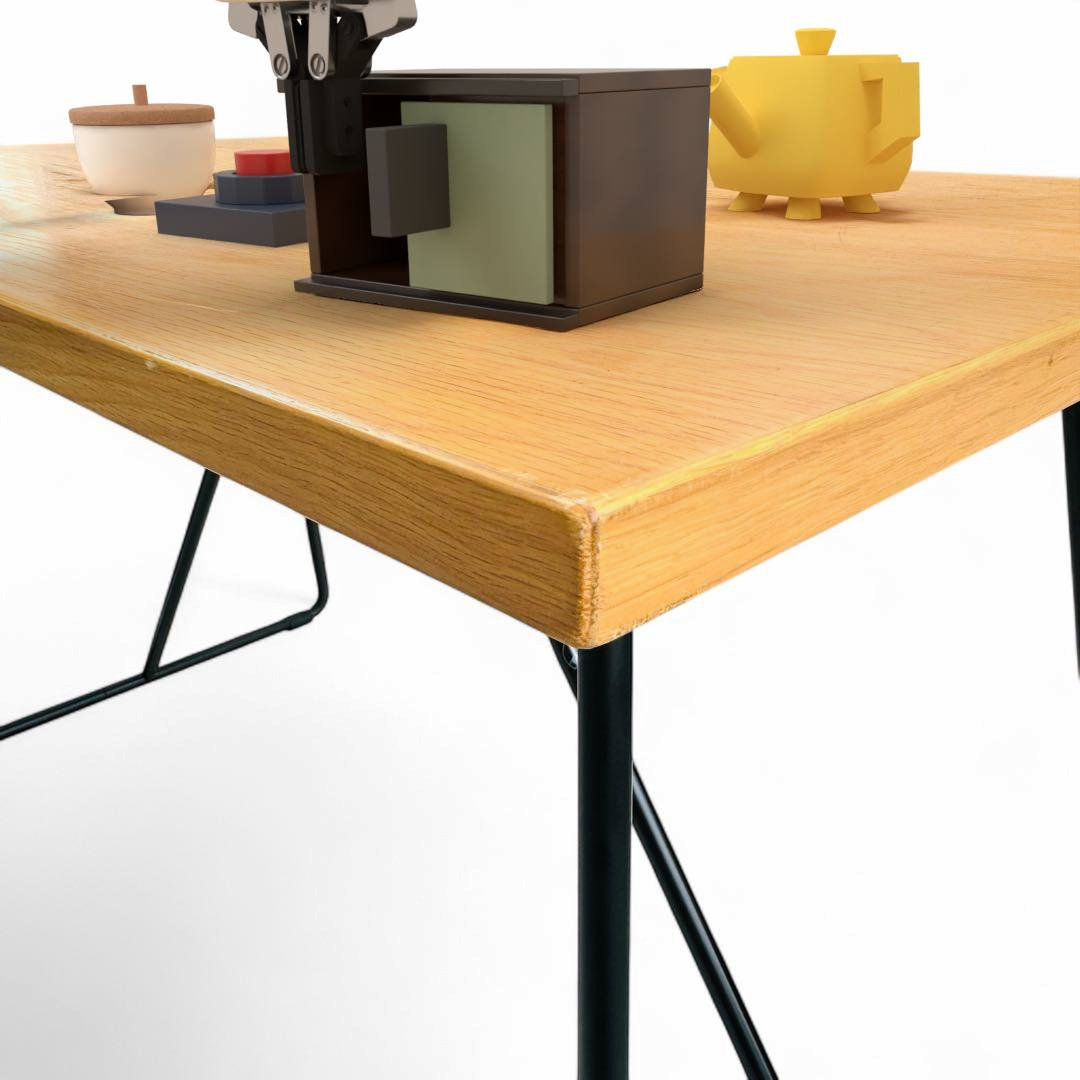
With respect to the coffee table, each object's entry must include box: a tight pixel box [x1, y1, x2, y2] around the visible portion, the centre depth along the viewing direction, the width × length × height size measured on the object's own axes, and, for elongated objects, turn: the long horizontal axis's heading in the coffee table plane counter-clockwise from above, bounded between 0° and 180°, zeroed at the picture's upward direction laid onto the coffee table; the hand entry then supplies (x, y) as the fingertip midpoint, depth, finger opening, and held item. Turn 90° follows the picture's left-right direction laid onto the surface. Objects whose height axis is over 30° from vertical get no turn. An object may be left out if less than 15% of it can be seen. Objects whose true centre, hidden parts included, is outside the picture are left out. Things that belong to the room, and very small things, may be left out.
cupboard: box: [276, 67, 712, 332], centre depth 61 cm, size 12×17×11 cm
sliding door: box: [365, 101, 554, 305], centre depth 53 cm, size 5×8×8 cm, turn 53°
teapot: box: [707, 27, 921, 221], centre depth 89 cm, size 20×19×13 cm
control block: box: [154, 168, 308, 249], centre depth 83 cm, size 12×10×4 cm
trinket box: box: [68, 84, 217, 217], centre depth 94 cm, size 11×11×9 cm
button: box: [233, 148, 294, 175], centre depth 82 cm, size 4×4×2 cm
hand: (328, 171), depth 56 cm, fingers closed
